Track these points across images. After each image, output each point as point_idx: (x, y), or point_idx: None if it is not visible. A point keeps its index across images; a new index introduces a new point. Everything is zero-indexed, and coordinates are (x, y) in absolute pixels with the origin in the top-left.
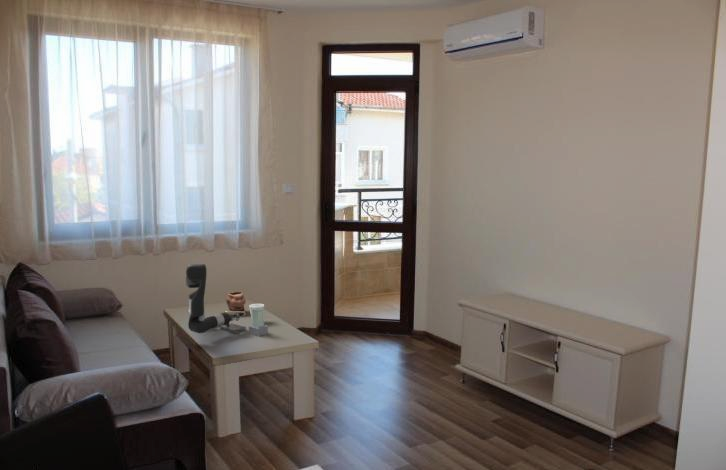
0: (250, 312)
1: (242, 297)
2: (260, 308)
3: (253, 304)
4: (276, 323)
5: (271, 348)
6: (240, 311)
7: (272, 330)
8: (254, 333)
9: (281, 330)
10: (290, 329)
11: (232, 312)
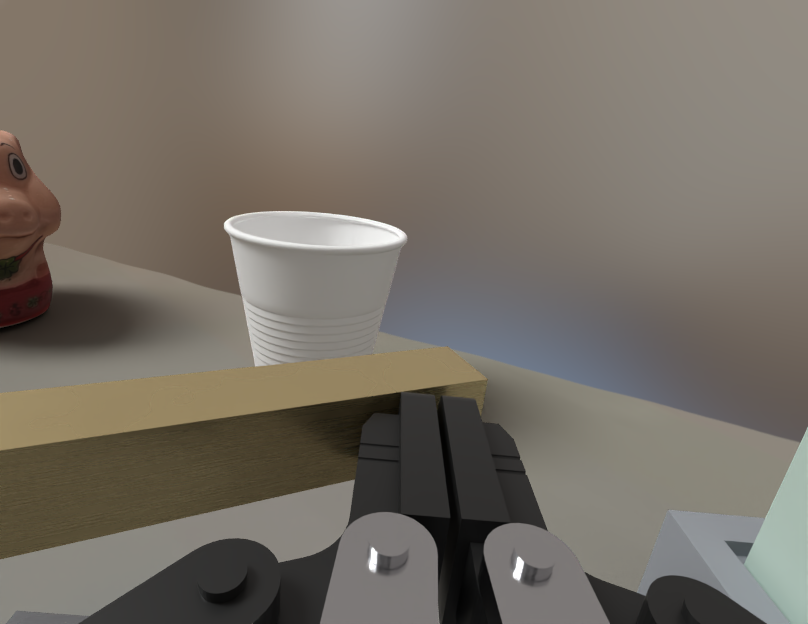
0: (263, 315)
1: (24, 163)
2: (397, 257)
3: (247, 219)
4: (488, 378)
5: None
6: (335, 362)
7: (702, 511)
8: None
9: (742, 475)
10: (736, 431)
11: (89, 461)
